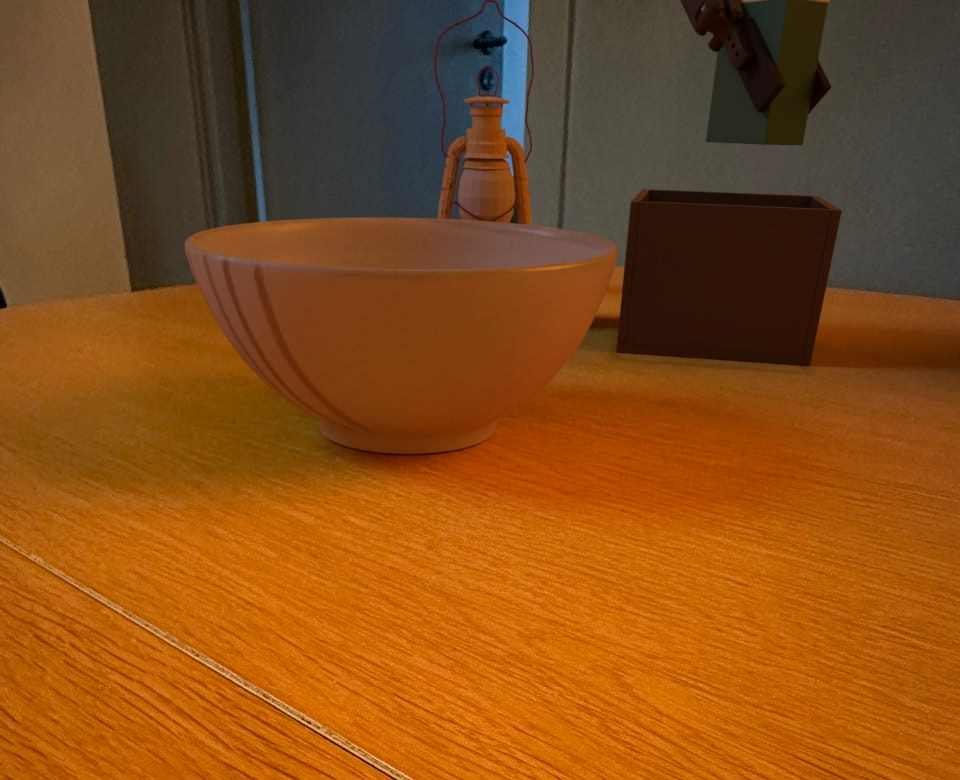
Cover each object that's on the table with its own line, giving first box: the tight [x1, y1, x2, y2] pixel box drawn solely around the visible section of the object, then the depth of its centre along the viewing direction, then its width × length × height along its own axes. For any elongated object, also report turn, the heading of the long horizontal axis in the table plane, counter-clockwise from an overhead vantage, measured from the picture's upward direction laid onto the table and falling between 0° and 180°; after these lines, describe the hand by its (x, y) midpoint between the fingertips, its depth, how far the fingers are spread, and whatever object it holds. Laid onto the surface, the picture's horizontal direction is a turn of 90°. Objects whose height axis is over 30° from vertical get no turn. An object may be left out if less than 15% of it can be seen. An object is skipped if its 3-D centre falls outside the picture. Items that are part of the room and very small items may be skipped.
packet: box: [705, 0, 830, 146], centre depth 74 cm, size 5×7×11 cm, turn 30°
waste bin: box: [615, 188, 843, 367], centre depth 87 cm, size 18×18×13 cm
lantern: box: [433, 0, 535, 225], centre depth 105 cm, size 12×10×30 cm
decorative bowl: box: [184, 217, 619, 455], centre depth 60 cm, size 27×27×12 cm
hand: (794, 99), depth 73 cm, fingers closed on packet, 4 cm apart
